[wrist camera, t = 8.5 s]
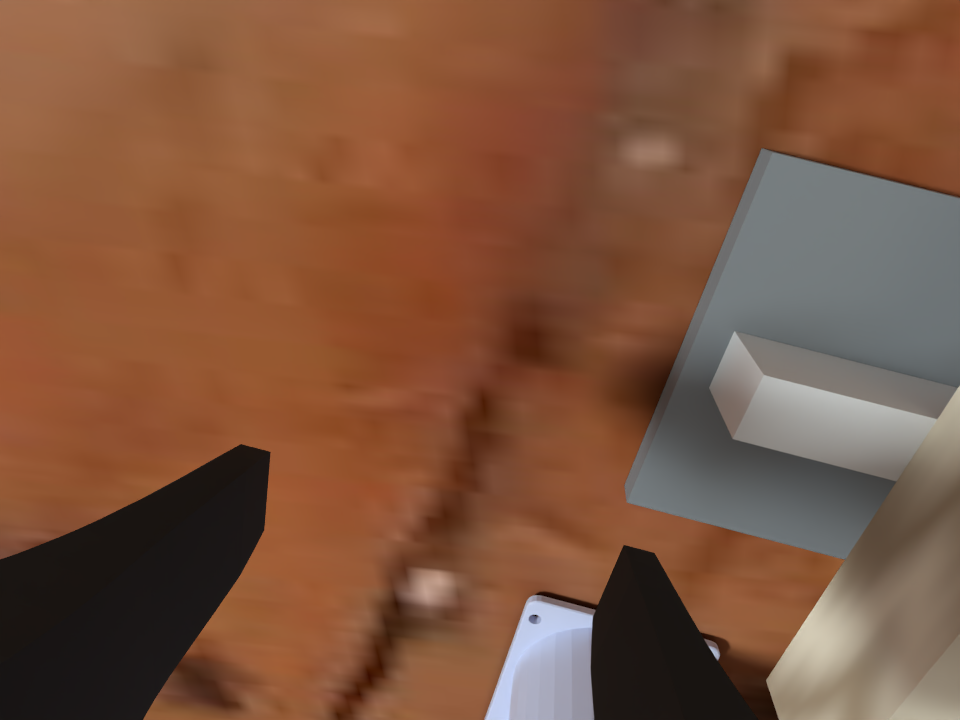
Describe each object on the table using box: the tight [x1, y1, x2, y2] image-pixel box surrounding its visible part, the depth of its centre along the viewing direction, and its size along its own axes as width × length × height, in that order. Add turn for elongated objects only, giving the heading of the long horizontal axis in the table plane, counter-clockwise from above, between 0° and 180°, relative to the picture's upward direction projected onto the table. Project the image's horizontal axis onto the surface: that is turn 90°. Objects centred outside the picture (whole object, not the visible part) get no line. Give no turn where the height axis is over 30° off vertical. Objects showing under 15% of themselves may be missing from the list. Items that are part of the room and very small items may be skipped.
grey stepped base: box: [624, 148, 960, 559], centre depth 18 cm, size 12×14×4 cm
